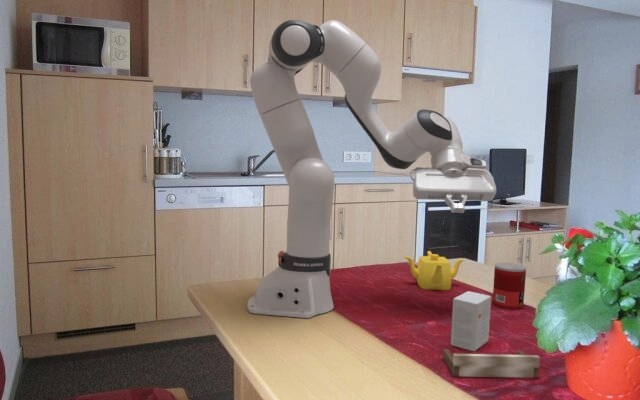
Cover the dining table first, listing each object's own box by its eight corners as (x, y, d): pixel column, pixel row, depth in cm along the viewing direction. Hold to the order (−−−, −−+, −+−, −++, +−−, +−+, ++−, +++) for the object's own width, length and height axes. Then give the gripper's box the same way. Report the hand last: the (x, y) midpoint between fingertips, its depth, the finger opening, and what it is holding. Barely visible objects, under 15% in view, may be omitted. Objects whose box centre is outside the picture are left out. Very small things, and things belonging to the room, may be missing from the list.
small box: (465, 335, 119) (467, 290, 117) (489, 341, 115) (492, 295, 114) (449, 345, 112) (452, 297, 111) (474, 352, 109) (477, 303, 108)
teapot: (427, 276, 171) (428, 247, 170) (465, 286, 160) (467, 255, 159) (400, 284, 161) (401, 253, 159) (439, 294, 150) (440, 262, 149)
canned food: (525, 311, 137) (528, 270, 136) (494, 308, 139) (496, 268, 138) (520, 302, 145) (523, 263, 144) (490, 300, 146) (493, 261, 145)
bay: (453, 376, 97) (454, 355, 97) (443, 358, 105) (444, 339, 105) (538, 377, 97) (539, 357, 97) (521, 360, 105) (522, 341, 105)
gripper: (411, 159, 131) (417, 202, 122) (492, 161, 131) (503, 204, 123) (407, 175, 136) (413, 218, 127) (485, 177, 136) (495, 220, 128)
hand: (458, 211), depth 125 cm, fingers closed
